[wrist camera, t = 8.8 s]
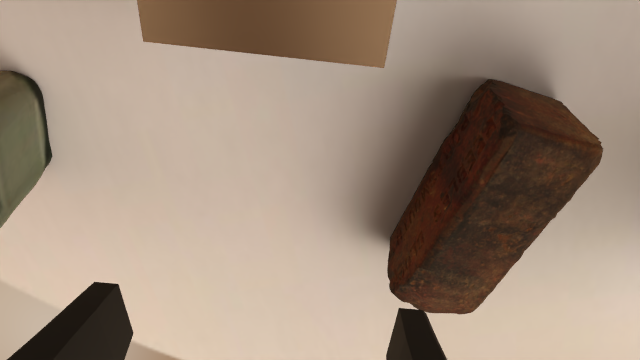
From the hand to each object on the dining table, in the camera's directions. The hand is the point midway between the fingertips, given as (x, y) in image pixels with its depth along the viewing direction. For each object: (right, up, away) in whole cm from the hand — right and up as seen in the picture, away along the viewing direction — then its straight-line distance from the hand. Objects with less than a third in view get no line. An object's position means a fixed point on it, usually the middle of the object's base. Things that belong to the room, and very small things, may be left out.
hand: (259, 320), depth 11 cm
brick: (+9, +4, +10) cm, 14 cm away
